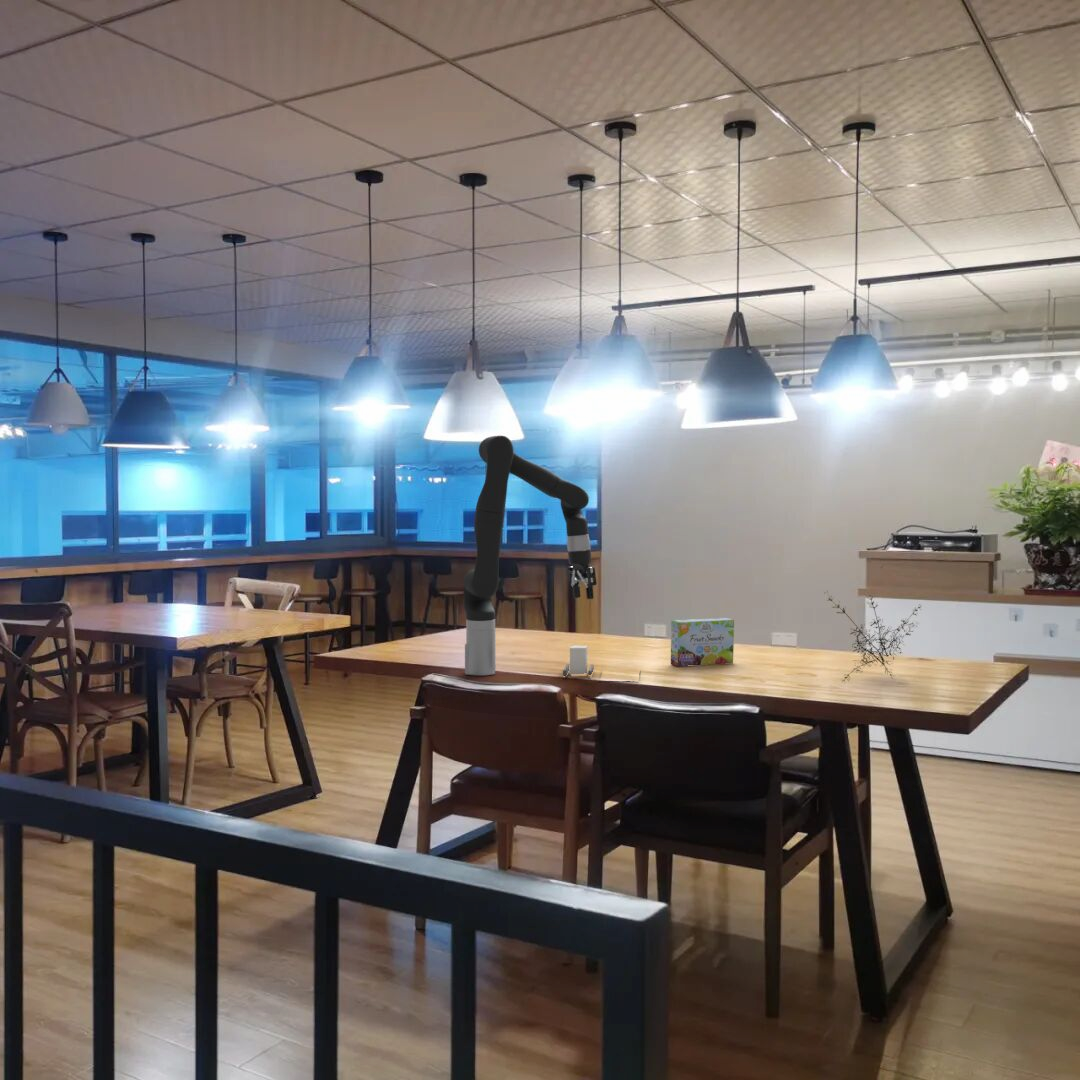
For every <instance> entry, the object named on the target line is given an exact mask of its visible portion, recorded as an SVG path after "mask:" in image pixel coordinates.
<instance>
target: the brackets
mask: <svg viewBox="0 0 1080 1080" xmlns="http://www.w3.org/2000/svg"><path fill="white" fill-rule="evenodd" d="M593 670H594V671H595V665H594V664H590V667H589V669H588V670H587V676H588V675H591V674H592V672H593ZM568 671H569V672H570V663H567V664H566V665H565V666H564V668H563V669H562V677H563V676H566V675H567V673H568ZM568 674H569V673H568ZM567 676H568V675H567Z"/></svg>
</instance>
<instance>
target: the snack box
mask: <svg viewBox="0 0 1080 1080" xmlns="http://www.w3.org/2000/svg"><path fill="white" fill-rule="evenodd" d="M670 626H671V627H670V629H671V631H670V665H671V666H674V665H675V666H674V667H677V666H683V667H689V666H688V665H701V666H709V665H708V664H716V665H726V664H725V663H732V664H734V645H735V644H734V641H735V640H734V639H735V637H734V636H735V619H733V618H728V617H719V618H718V617H717V618H715V617H714V618H697V619H696V618H692V619H673V620H671V623H670Z"/></svg>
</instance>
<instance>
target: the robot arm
mask: <svg viewBox="0 0 1080 1080" xmlns="http://www.w3.org/2000/svg"><path fill="white" fill-rule="evenodd" d="M478 454H479V456H480V458H481V460H482V461H483V462H484V463H485V464H486V474H485V480H484V484H483V486H482V489H481V491H480V493H479V496H478V499H477V502H476V507H475V512H474V513H475V514H474V520H473V521H474V522H473V530H474V539H475V545H476V559H475V567H474V568H471V569H470V570H468V572H467V573H466V574H465V576H464V577H463V578H464V579H463V585H462V586H463V588H462V589H463V593H462V594H463V608H464V611H465V624H466V628H465V634H466V635H465V637H466V643H464V674H465V675H469V676H490V675H491V676H492V675H495V674H496V673H495V671H496V669H497V666H496V665H497V664H496V661H497V659H496V656H497V655H496V610H495V608H494V606H493V603H492V597H493V596H494V595H495V594H496V592H497V590H498V587H499V582H500V581H499V580H500V579H499V576H500V574H499V572H500V571H499V569H500V567H499V566H500V565H499V564H500V563H499V562H500V551H501V545H502V544H501V543H502V536H503V528H504V521H505V514H506V513H505V512H506V503H507V492H508V482H509V476H510V474H512V476H513V475H514V476H515V477H517V478H519V479H520V480H522V481H524V482H525V483H527V484H528V485H530V486H532V487H533V488H535V489H537V490H539V491H540V492H542V493H543V494H545V495H546V496H549V497H550V498H555V499H558V500H560V507H561V512H562V515H563V518H564V521H565V524H566V526H565V527H566V537H567V538H566V539H567V541H566V546H567V556H568V557H567V558H568V564H569V565H572V566H567V581H568V583H567V584H568V585H571V587H572V592H573V598H574V599H578V598H580V597H581V588H580V587H581V586H580V584H581V582H582V583H583V584H584V586H585V592H586V593H585V594H586V599H587V600H593V599H594V598H595V597H594V586H596V585H597V576H596V569H595V566H590V565H589V564H590V563H592V562H593V561H592V552H591V551H592V550H591V540H590V535H589V526H588V520H587V518H586V517H584V516H583V514H582V513H583V512H582V510H583V509H585V508H586V507H587V506H588V504H589V501H590V497H589V494H588V492H587V491H586V490H585V489H583V488H582V487H581V486H579V485H577V484H574V483H572V482H570V481H567V480H565V479H563V478H561V477H560V476H559V475H557V474H555V473H554V472H552V471H550V469H547V468H545V467H544V466H541V465H539V464H537V463H534V462H531V461H529V460H527V459H525V458H523V457H522V456H520V455H518V454H516V453H515V450H514V444H513V442H512V441H511V439H510V438H509V437H507V436H505V435H500V434H499V435H493V436H492V435H491V436H488V437H486V438H484V439H483V440H482V441H481V443H480V444H479V446H478Z"/></svg>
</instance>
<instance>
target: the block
mask: <svg viewBox="0 0 1080 1080" xmlns="http://www.w3.org/2000/svg"><path fill="white" fill-rule="evenodd" d="M584 673H587V674H588V645H571V646H570V647H569V675H570V674H584Z"/></svg>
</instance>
